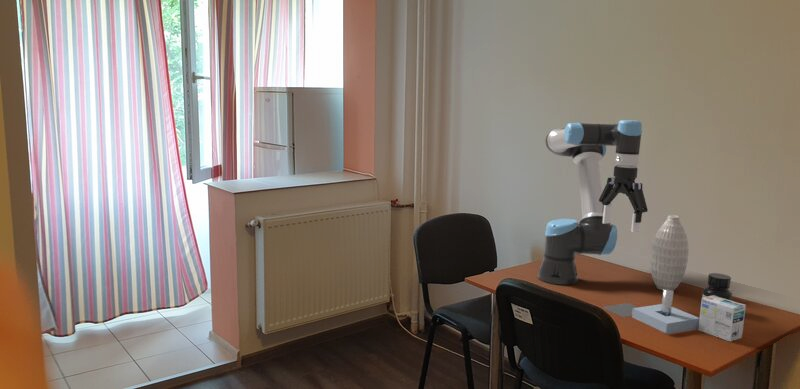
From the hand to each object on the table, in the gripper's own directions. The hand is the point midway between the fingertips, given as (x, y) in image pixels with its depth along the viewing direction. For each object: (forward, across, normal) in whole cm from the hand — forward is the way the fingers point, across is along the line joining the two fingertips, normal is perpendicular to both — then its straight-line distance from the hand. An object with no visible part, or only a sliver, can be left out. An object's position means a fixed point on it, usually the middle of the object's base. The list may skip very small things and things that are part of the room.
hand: (620, 227), depth 213 cm
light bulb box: (+27, +34, +11) cm, 45 cm away
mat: (+27, +9, -3) cm, 28 cm away
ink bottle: (+27, +18, +29) cm, 44 cm away
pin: (+27, +22, +1) cm, 35 cm away
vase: (+27, -5, +30) cm, 41 cm away
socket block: (+27, +22, +1) cm, 35 cm away
